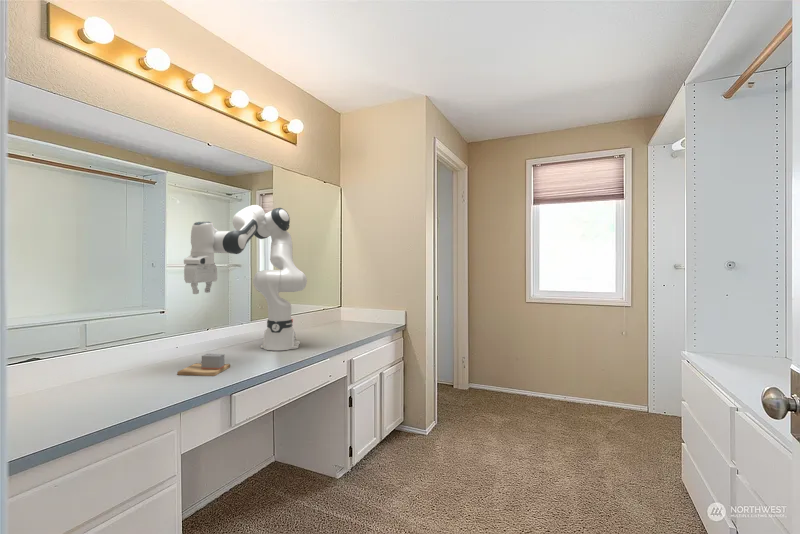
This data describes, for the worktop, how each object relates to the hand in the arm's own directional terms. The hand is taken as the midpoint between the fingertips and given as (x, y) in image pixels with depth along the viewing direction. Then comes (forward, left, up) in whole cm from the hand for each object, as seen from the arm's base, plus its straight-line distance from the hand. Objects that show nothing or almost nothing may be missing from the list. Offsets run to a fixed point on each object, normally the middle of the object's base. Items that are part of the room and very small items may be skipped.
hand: (201, 293), depth 169 cm
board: (+12, +8, -29) cm, 32 cm away
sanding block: (+12, +11, -28) cm, 32 cm away
